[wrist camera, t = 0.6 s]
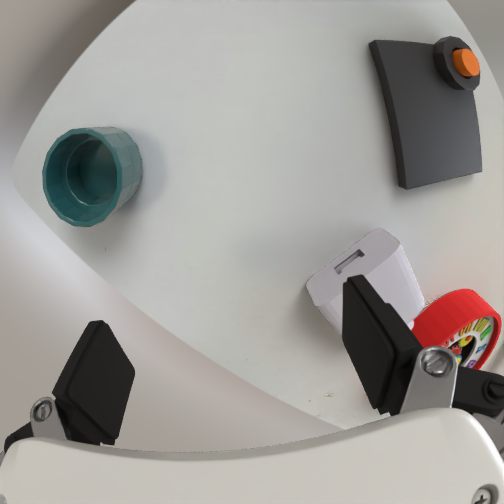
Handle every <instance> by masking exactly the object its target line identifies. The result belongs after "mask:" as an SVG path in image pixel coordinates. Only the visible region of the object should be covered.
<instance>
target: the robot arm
mask: <svg viewBox="0 0 504 504" xmlns="http://www.w3.org/2000/svg"><path fill="white" fill-rule="evenodd" d="M342 340H343V343H344V346H345V348H346V350H347V352H348V354H349V356H350V358H351V361H352V363H353V365H354V367H355V369H356V372H357V374H358V376H359V378H360V381H361V383H362V385H363V387H364V390H365V392H366V394H367V396H368V399H369V401H370V403H371V406H372V408H373V409H376V408H378V411H379V413H380V415H382V414H384V413H387V412H389V413H390V415H391V417H388V418H384V419H381V420H378V421H374V422H371V423H367V424H364V425H361V426H358V427H354V428H351V429H347V430H343V431H340V432H336V433H332V434H328V435H324V436H319V437H315V438H311V439H306V440H301V441H296V442H291V443H285V444H279V445H273V446H266V447H259V448H251V449H241V450H230V451H216V452H153V451H138V450H128V449H119V448H111V447H103V446H100V442H102V443H103V444H107V445H114V443H115V439H117V438H118V436H119V432H120V428H121V424H122V420H123V416H124V412H125V409H126V405H127V401H128V398H129V394H130V391H131V387H132V384H133V380H134V377H135V370H134V367H133V366H132V364H131V362H130V361H129V359H128V358H127V356H126V354H125V353H124V351H123V349H122V348H121V346H120V344H119V343H118V341H117V339H116V337H115V336H114V334H113V332H112V330H111V329H110V327H109V325H108V324H106V323H105V322H104V321H103V320H99V321H91V322H89V323H88V325H87V327H86V328H85V330H84V332H83V334H82V335H81V337H80V339H79V341H78V342H77V344H76V346H75V348H74V350H73V352H72V353H71V355H70V357H69V359H68V361H67V363H66V365H65V367H64V369H63V371H62V373H61V375H60V377H59V379H58V381H57V383H56V385H55V387H54V389H53V391H52V394H53V395H54V396H55V397H56V399H55V401H54V400H53V399H52V398H50V397H43V398H41V399H39V400H38V401H36V403H35V404H34V405H33V407H32V409H31V411H30V420H31V421H30V422H29V423H28V424H26V425H25V426H23V427H21V428H20V429H18V430H17V431H16V432H14V433H12V434H11V435H10V436H8V437H7V438H6V440H5V445H4V452H5V453H4V452H3V451H2V452H1V453H0V504H504V376H502V375H499V374H495V373H490V372H486V371H481V370H477V369H472V368H468V367H464V366H459V365H458V362H457V358H456V356H455V355H454V353H453V352H452V351H451V350H449V349H447V348H445V347H442V346H429V347H427V348H425V349H424V348H423V346H422V345H421V343H420V342H419V341H418V339H417V338H416V336H415V335H414V334H413V332H412V331H411V330H410V328H409V327H408V326H407V324H406V323H405V322H404V320H403V319H402V318H401V316H400V315H399V314H398V313H397V311H396V310H395V309H394V307H393V306H392V305H391V304H390V303H385V302H384V301H383V299H382V298H381V297H380V295H379V294H378V293H377V292H376V290H375V289H374V288H373V286H372V285H371V284H370V283H369V281H368V280H367V279H366V278H365V276H364V275H363V274H360V275H355V276H351V277H348V278H347V282H344V283H343V310H342Z"/></svg>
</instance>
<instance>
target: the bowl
mask: <svg viewBox="0 0 504 504" xmlns="http://www.w3.org/2000/svg"><path fill="white" fill-rule="evenodd" d="M42 176H43V190H44V193H45V195H46V198H47V201H48V203H49V205H50V207H51V208H52V209H53V211H54V212H55V213H56V214H57V215H58V217H59V218H60V219H62V220H64V221H66V222H67V223H69V224H71V225H73V226H82V227H90V226H93V225H95V224H97V223H100V222H102V221H104V220H105V219H106V218H108V217H109V216H110V215H111V214H113V213H114V212H115V211H116V210H118V209H119V208H120V207H122V206H123V205H124V204H125V203H126V202H127V201H128V200H129V199H130V198H131V197H132V196H133V195H134V194H135V192H136V190H137V187H138V185H139V183H140V180H141V177H142V159H141V156H140V153H139V150H138V147H137V144H136V143H135V142H134V141H133V140H132V138H131V137H130V136H129V135H128V134H127V133H126V132H124V131H121V130H119V129H117V128H114V127H93V128H79V129H72V130H70V131H68V132H66V133H65V134H63V135H62V136H60V137H59V138H57V140H56V141H55V142H54V144H53V145H52V147H51V148H50V150H49V151H48V152H47V155H46V159H45V162H44V166H43V171H42Z"/></svg>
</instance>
